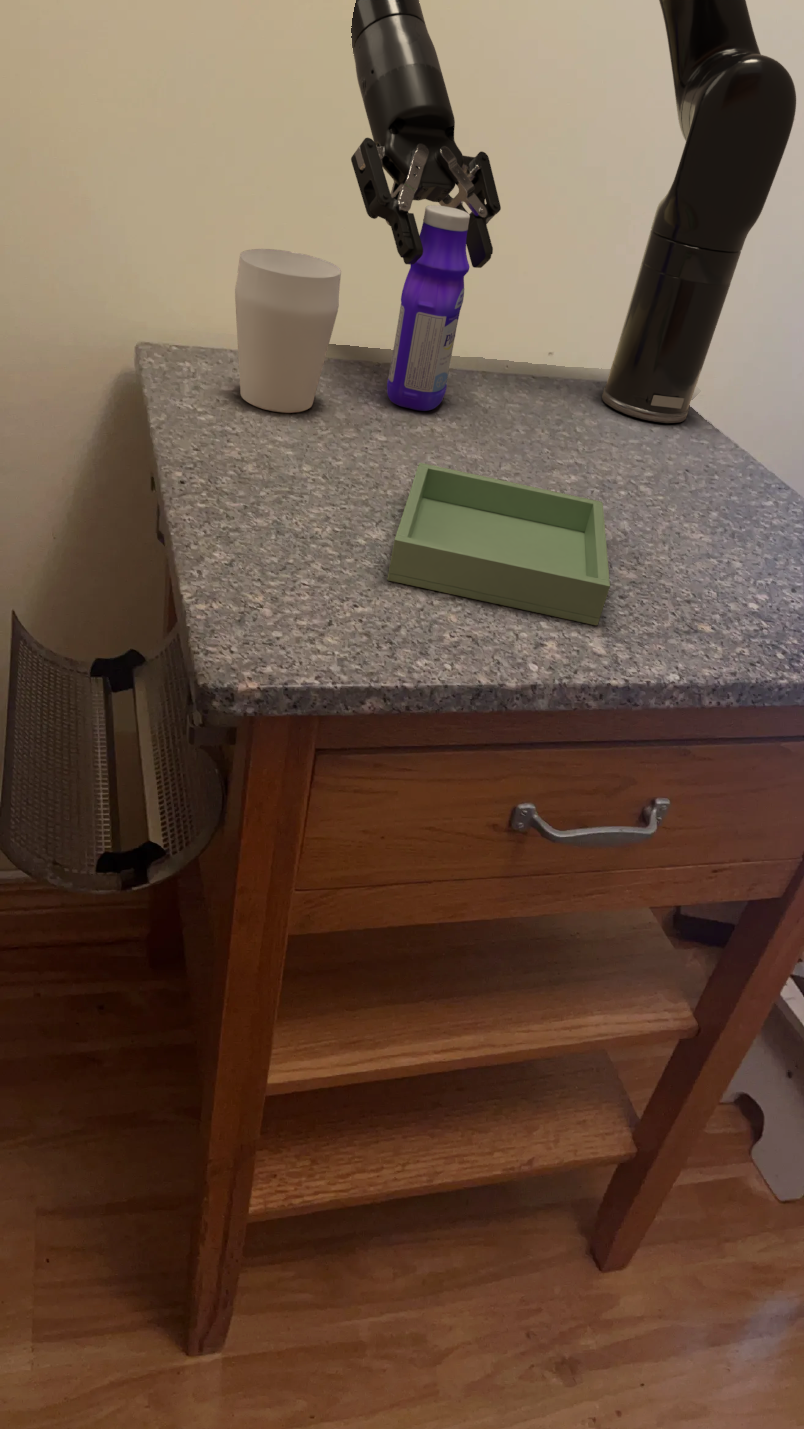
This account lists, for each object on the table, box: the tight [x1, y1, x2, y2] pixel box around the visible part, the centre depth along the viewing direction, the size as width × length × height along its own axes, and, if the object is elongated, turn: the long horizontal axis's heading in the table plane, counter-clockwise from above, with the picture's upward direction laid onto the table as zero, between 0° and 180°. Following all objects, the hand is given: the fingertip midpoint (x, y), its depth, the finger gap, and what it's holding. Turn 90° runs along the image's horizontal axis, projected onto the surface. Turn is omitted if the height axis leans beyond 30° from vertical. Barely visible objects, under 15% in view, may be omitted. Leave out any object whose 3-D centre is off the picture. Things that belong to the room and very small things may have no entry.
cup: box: [234, 248, 342, 414], centre depth 92 cm, size 9×9×12 cm
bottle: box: [386, 204, 470, 412], centre depth 97 cm, size 7×6×17 cm
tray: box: [386, 462, 611, 626], centre depth 75 cm, size 15×15×3 cm
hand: (449, 261), depth 93 cm, fingers open, 7 cm apart
